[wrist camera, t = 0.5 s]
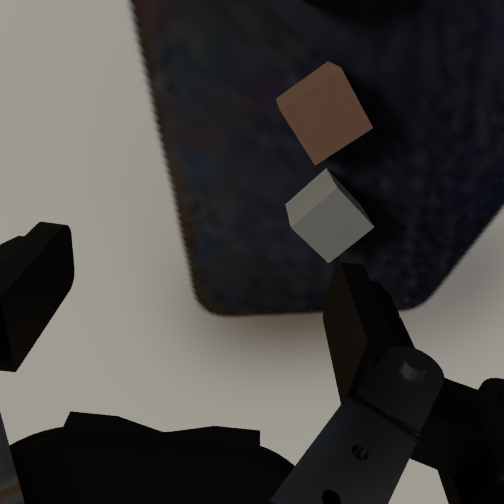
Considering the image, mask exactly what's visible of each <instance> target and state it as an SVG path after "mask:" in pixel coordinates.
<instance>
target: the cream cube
mask: <svg viewBox="0 0 504 504" xmlns="http://www.w3.org/2000/svg"><path fill="white" fill-rule="evenodd" d="M286 208H287V213H288V217H289V221H290V226H291V228H292V229H293V230H294V231H295V232H296V233H297V234H298V235H299V236H300V237H302V238H303V239H304V240H305V241H306V242H307V243H308V244H309V245H310V246H311V247H312V248H313V249H314V250H315V251H316V252H317V253H318V254H319V255H320V256H322V257H323V258H324V259H325V260H326V261H327V262H328V263H329V262H331V261H332V260H333V259H335V258H336V257H337V256H338V255H340V254H341V253H342V252H343V251H345V250H346V249H347V248H349V247H350V246H351V245H352V244H354V243H355V242H356V241H357V240H359V239H360V238H361V237H363V236H364V235H365V234H366V233H368V232H369V231H370V230H371V229H373V228H374V226H373V224H372V223H371V221H370V219H369V218H368V216H367V215H366V213H365V211H364V210H363V208H362V207H361V205H360V204H359V203H358V202H357V201H356V199H355V198H354V197H353V196H352V195H351V194H350V193H349V192H348V191H347V190H346V189H345V188H344V187H343V185H342V184H341V183H340V182H339V181H338V180H337V179H336V178H335V177H334V176H333V175H332V174H331V172H330V171H329V170H328V169H327V168H326V169H325V170H324V171H323V172H322V173H320V174H319V175H318V176H317V177H316V178H315V179H314V180H313V181H311V182H310V183H309V184H308V185H307V186H306V187H305V188H304V189H302V190H301V191H300V192H299V193H298V194H297V195H296V196H294V197H293V198H292V199H291V200H290V201H289V202H288V203H287V204H286Z"/></svg>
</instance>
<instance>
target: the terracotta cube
mask: <svg viewBox="0 0 504 504" xmlns="http://www.w3.org/2000/svg"><path fill="white" fill-rule="evenodd" d="M276 101H277V103H278V106H279V108H280V111H281V112H282V114H283V115H284V117H285V119H286V120H287V122H288V123H289V125H290V127H291V128H292V130H293V131H294V133H295V134H296V136H297V138H298V139H299V141H300V142H301V144H302V146H303V147H304V149H305V150H306V152H307V153H308V155H309V157H310V158H311V160H312V161H313V163H314V164H315V165H317V164H318V163H320V162H321V161H323V160H324V159H326V158H328V157H329V156H331V155H332V154H334V153H335V152H337V151H338V150H340V149H341V148H343V147H345V146H346V145H348V144H349V143H351V142H352V141H354V140H355V139H357V138H358V137H360V136H362V135H363V134H365V133H366V132H368V131H369V130H371V129H372V128H373V127H372V125H371V123H370V121H369V119H368V117H367V115H366V114H365V112H364V110H363V108H362V106H361V104H360V102H359V100H358V99H357V97H356V95H355V93H354V91H353V89H352V87H351V85H350V84H349V82H348V80H347V78H346V76H345V74H344V72H343V70H342V68H341V67H339V66H337V65H335V64H333V63H331V62H329V61H328V62H327V63H325V64H324V65H322V66H321V67H320V68H318V69H317V70H315V71H314V72H313V73H311V74H310V75H308V76H307V77H306V78H304V79H303V80H301V81H300V82H299V83H297V84H296V85H295V86H293V87H292V88H290V89H289V90H288V91H286V92H285V93H283V94H282V95H281V96H279V97H278V98H276Z"/></svg>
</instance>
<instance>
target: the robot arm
mask: <svg viewBox="0 0 504 504" xmlns="http://www.w3.org/2000/svg"><path fill="white" fill-rule="evenodd" d="M73 280H74V259H73V249H72V237H71V230H70V228H69V226H68V225H61V224H54V223H46V222H39V223H38V224H37V225H36V226H35V227H34V228H33V229H32V230H31V231H30V232H29V233H28V234H27V235H25V236H17V237H15V238H13V239H11V240H9V241H7V242H5V243H3V244H1V245H0V370H1V371H10V372H16V371H17V370H18V368H19V367H20V365H21V363H22V362H23V360H24V359H25V357H26V356H27V354H28V353H29V351H30V350H31V348H32V347H33V345H34V344H35V342H36V341H37V339H38V338H39V336H40V335H41V333H42V332H43V330H44V329H45V327H46V326H47V324H48V323H49V321H50V320H51V318H52V317H53V315H54V314H55V312H56V311H57V309H58V308H59V306H60V304H61V303H62V301H63V300H64V298H65V297H66V295H67V294H68V292H69V291H70V289H71V287H72V284H73ZM323 322H324V327H325V332H326V336H327V341H328V346H329V350H330V355H331V360H332V364H333V369H334V373H335V378H336V383H337V387H338V392H339V397H340V401H341V405H340V407H339V408H338V410H337V411H336V412H335V414H334V415H333V416H332V418H331V419H330V420H329V422H328V423H327V424H326V426H325V427H324V428H323V430H322V431H321V432H320V434H319V435H318V436H317V438H316V439H315V440H314V442H313V443H312V444H311V446H310V447H309V448H308V450H307V451H306V452H305V454H304V455H303V456H302V458H301V459H300V460H299V462H298V463H297V464H296V466H294V465H293V464H291V463H290V462H289V461H288V460H287V459H285V458H283V457H282V456H280V455H279V454H277V453H275V452H273V451H271V450H269V449H267V448H265V447H262V446H260V431H259V430H249V429H239V428H228V427H219V426H211V427H203V428H196V429H188V430H181V431H173V432H161V431H158V430H155V429H152V428H150V427H147V426H144V425H141V424H138V423H135V422H132V421H130V420H127V419H124V418H121V417H119V416H110V415H100V414H89V413H79V412H70V413H69V416H68V418H67V420H66V422H65V424H64V426H63V427H59V428H54V429H50V430H46V431H42V432H39V433H36V434H33V435H31V436H28V437H26V438H24V439H21V440H19V441H17V442H15V443H13V444H11V445H10V446H9V443H8V440H7V436H6V432H5V428H4V425H3V421H2V417H1V413H0V504H388V503H389V500H390V498H391V496H392V494H393V492H394V490H395V488H396V486H397V483H398V481H399V479H400V477H401V475H402V473H403V471H404V469H405V467H406V464H407V462H408V460H409V458H410V459H412V460H415V461H417V462H420V463H423V464H425V465H427V466H430V467H432V468H435V469H437V470H438V473H439V476H440V479H441V482H442V485H443V488H444V491H445V494H446V497H447V500H448V503H449V504H504V379H500V378H490V379H487V380H485V381H484V382H483V383H482V385H481V386H480V388H479V389H478V390H477V389H473V388H471V387H468V386H465V385H463V384H459V383H457V382H454V381H451V380H449V379H446V378H444V374H443V371H442V369H441V368H440V366H439V365H438V364H437V363H436V361H435V360H433V359H432V358H431V357H430V356H428V355H427V354H425V353H423V352H422V351H420V350H417V349H415V347H414V345H413V343H412V341H411V339H410V336H409V334H408V332H407V330H406V328H405V326H404V324H403V321H402V319H401V318H400V317H399V313H398V311H397V309H396V308H395V304H394V302H393V300H392V298H391V296H390V294H389V293H388V292H387V291H386V290H385V289H384V288H383V287H382V286H381V285H380V284H379V283H378V282H371V281H370V279H369V277H368V274H367V272H366V269H365V267H364V265H362V264H355V263H348V262H340V261H339V262H337V264H336V266H335V268H334V272H333V275H332V278H331V282H330V285H329V288H328V292H327V295H326V299H325V302H324V307H323Z"/></svg>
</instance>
